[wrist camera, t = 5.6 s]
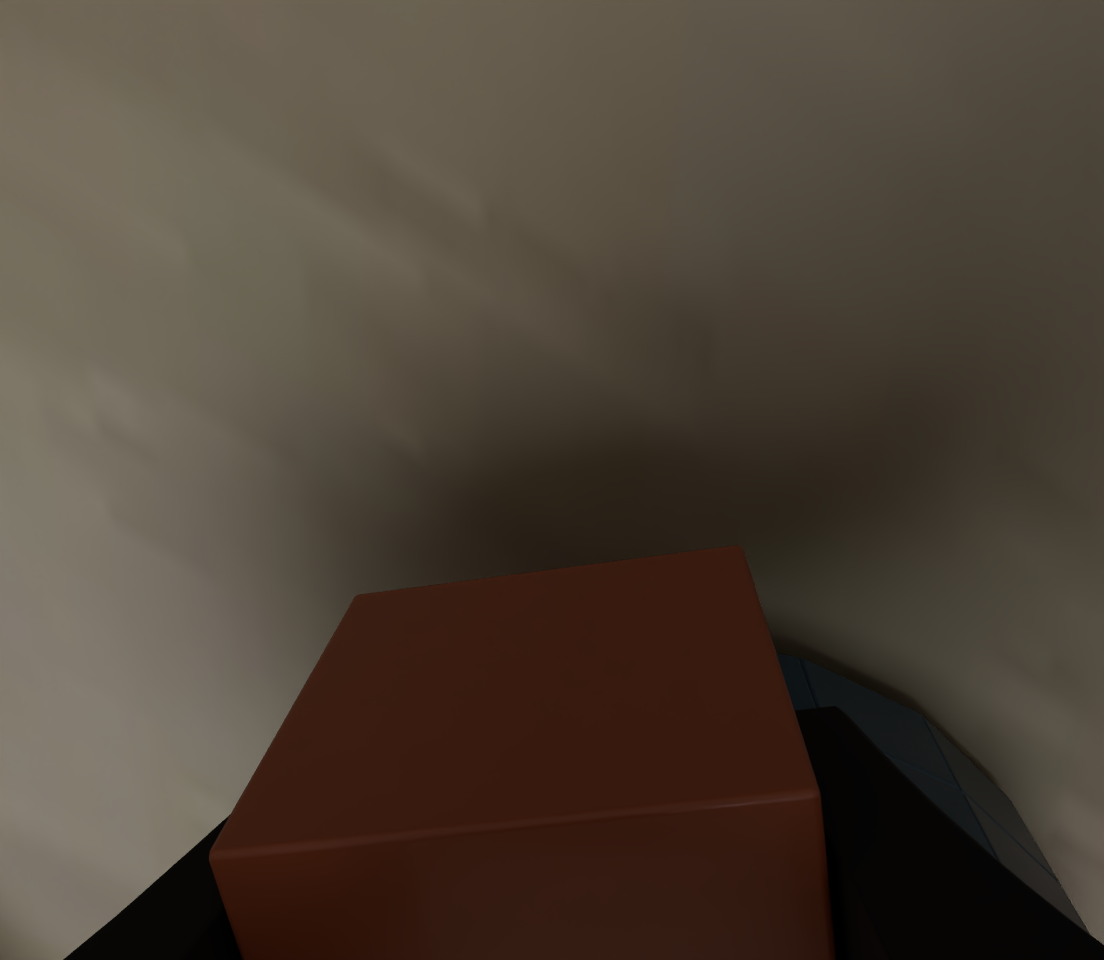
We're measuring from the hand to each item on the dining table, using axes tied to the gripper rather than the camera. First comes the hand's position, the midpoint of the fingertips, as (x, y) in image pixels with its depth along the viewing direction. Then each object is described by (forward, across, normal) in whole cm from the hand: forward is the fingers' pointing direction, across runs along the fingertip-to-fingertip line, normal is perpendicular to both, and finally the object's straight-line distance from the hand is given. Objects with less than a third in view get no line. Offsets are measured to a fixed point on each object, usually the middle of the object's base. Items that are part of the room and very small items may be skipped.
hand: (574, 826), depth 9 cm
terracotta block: (+1, 0, 0) cm, 1 cm away
